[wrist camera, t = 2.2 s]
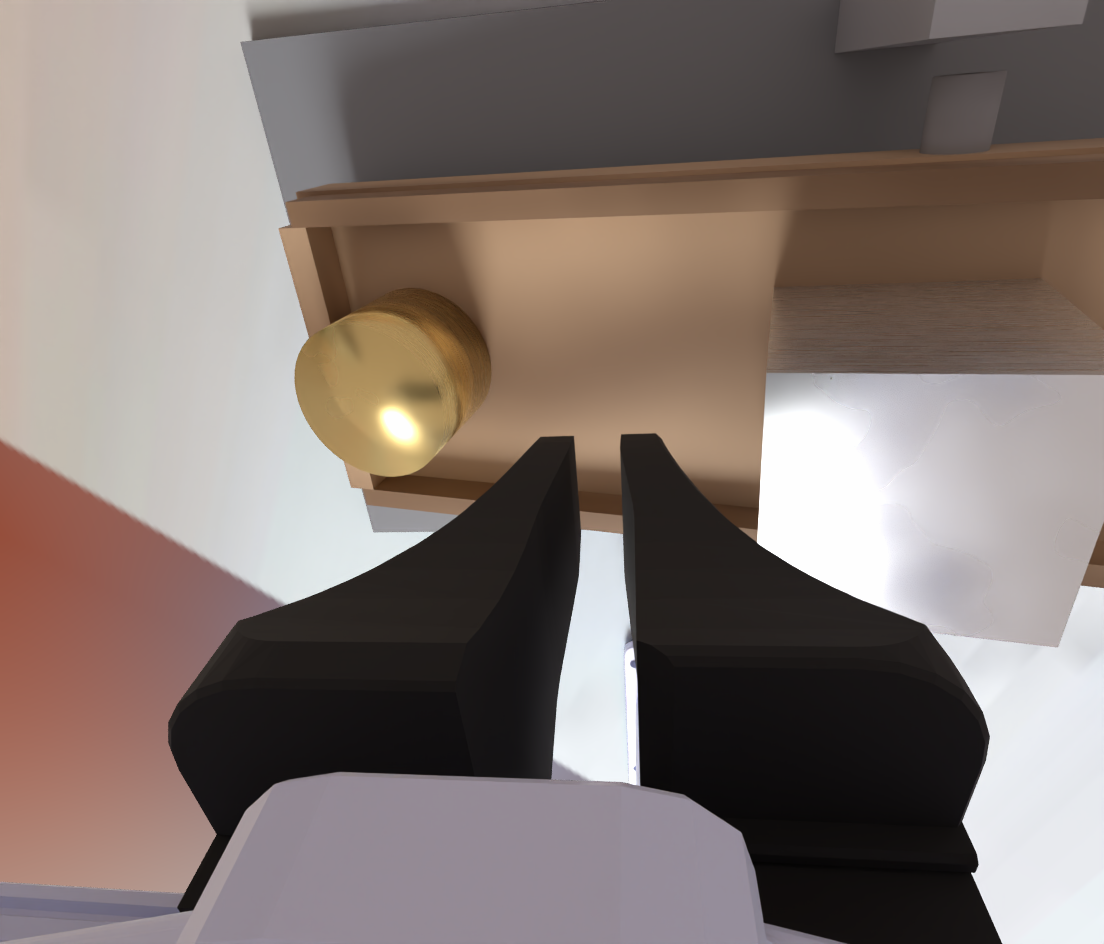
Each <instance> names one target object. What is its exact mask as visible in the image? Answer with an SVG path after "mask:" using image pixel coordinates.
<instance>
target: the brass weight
mask: <svg viewBox="0 0 1104 944" xmlns="http://www.w3.org/2000/svg"><path fill="white" fill-rule="evenodd" d="M491 373H492V371H491V360H490V355H489V352H488V348H487V345H486V343H485V341H484V338H483V336H482V334H481V333H480V331H479V329H478V328H477V326H476V325H475V323H474V322H473V321H472V319H471V318H470V317H469V316H468V315H467V314H466V313H465V312H464V311H463V310H462V309H461V308H460V307H459V306H457V305H456V304H455V303H453V302H452V301H450V300H449V299H447V298H445V297H443V296H441V295H439V294H437V293H435V292H432V291H429V290H424V289H419V288H402V289H398V290H394V291H391V292H389V293H387V294H385V295H383V296H381V297H379V298H378V299H376V300H374V301H372V302H370V303H369V304H367V305H365V306H363V307H361V308H360V309H358V310H356V311H354V312H352V313H351V314H349V315H347V316H345V317H343V318H341V319H340V320H338V321H336V322H334V323H332V324H331V325H329V326H327V327H325V328H323V329H322V330H320V331H318V332H317V333H315V334H314V335H313V336H311V337H310V338H309V339H308V340H307V341H306V343H305V344H304V346H303V347H302V349H301V351H300V353H299V355H298V358H297V361H296V366H295V389H296V394H297V398H298V402H299V405H300V407H301V410H302V412H303V414H304V416H305V418H306V420H307V422H308V424H309V425H310V427H311V429H312V430H313V431H314V433H315V434H316V435H317V437H318V438H319V439H320V440H321V441H322V443H323V444H324V445H325V446H326V447H327V448H328V449H329V450H331V451H332V452H333V453H334V454H335V455H336V456H338V457H339V458H340V459H342V460H343V461H345V462H346V463H348V464H350V465H352V466H353V467H355V468H357V469H360V470H362V471H365V472H367V473H371V474H374V475H379V476H388V477H396V476H404V475H408V474H411V473H413V472H416V471H418V470H420V469H421V468H423V467H424V466H425V465H426V464H428V463H429V462H430V461H431V460H432V459H433V458H434V456H435V455H436V454H437V453H438V452H439V451H440V450H441V449H442V448H443V447H444V446H445V445H446V443H447V442H448V441H449V440H450V439H451V438H452V437H453V436H454V435H455V434H456V433H457V432H458V430H459V429H460V428H461V427H462V426H463V425H464V424H465V423H466V422H467V421H468V420H469V419H470V418H471V416H472V415H473V414H474V413H475V412H476V411H477V410H478V409H479V407H480V406H481V405H482V404H483V402H484V400H485V398H486V396H487V394H488V391H489V388H490V383H491Z"/></svg>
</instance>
